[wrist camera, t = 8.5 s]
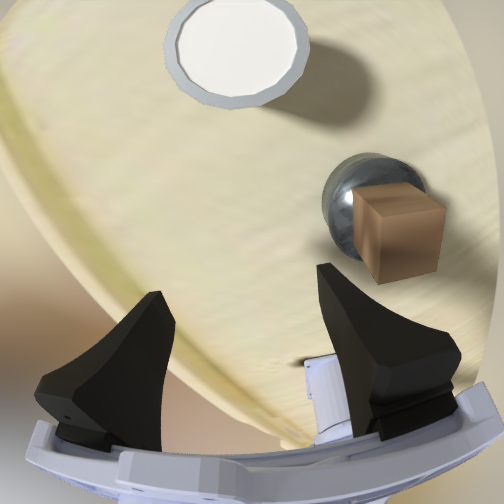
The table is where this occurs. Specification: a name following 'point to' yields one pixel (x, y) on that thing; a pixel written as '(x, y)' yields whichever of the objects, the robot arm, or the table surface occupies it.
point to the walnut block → (397, 230)
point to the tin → (354, 176)
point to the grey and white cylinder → (236, 51)
